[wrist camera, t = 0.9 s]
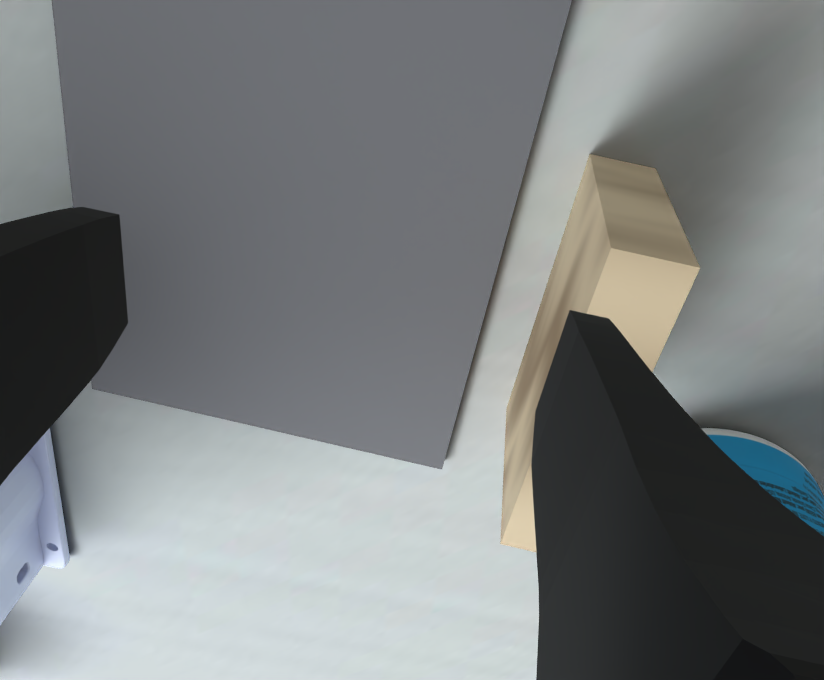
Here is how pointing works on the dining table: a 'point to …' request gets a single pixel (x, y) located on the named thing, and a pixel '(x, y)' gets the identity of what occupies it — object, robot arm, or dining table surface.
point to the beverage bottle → (774, 473)
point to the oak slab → (598, 301)
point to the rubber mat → (305, 199)
